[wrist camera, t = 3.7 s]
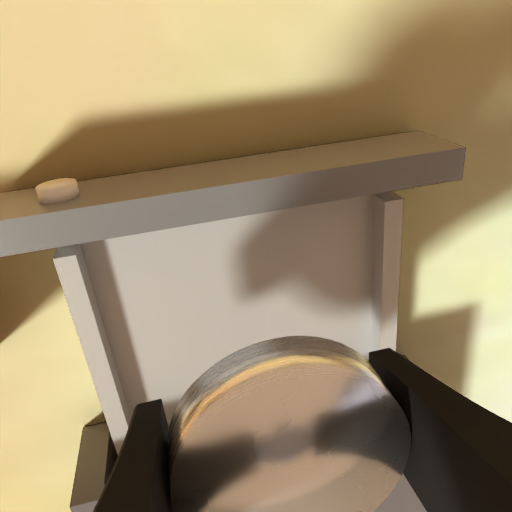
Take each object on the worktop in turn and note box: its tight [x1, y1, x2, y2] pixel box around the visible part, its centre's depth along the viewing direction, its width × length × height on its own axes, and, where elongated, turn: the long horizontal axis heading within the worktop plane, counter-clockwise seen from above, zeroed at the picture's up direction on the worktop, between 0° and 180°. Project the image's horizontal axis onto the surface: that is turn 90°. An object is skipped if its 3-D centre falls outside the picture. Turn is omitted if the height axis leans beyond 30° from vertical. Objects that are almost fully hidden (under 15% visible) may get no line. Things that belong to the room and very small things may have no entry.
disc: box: [167, 336, 411, 512], centre depth 11 cm, size 6×6×1 cm
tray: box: [0, 131, 466, 455], centre depth 15 cm, size 13×11×2 cm
